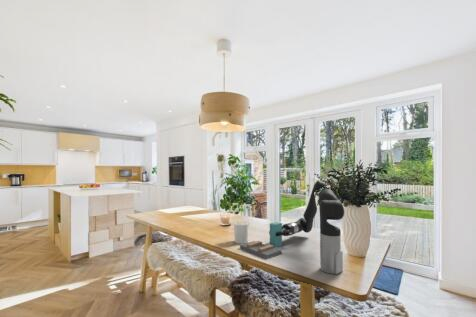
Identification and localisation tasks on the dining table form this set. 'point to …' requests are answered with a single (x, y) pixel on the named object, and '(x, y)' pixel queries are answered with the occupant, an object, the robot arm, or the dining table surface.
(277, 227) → the long teal prism
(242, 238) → the candle holder
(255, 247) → the display stand
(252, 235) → the dining table surface
